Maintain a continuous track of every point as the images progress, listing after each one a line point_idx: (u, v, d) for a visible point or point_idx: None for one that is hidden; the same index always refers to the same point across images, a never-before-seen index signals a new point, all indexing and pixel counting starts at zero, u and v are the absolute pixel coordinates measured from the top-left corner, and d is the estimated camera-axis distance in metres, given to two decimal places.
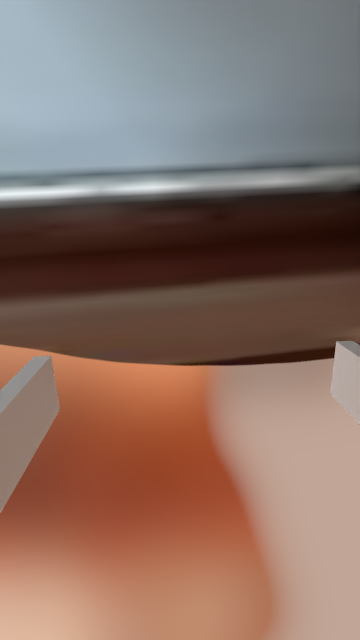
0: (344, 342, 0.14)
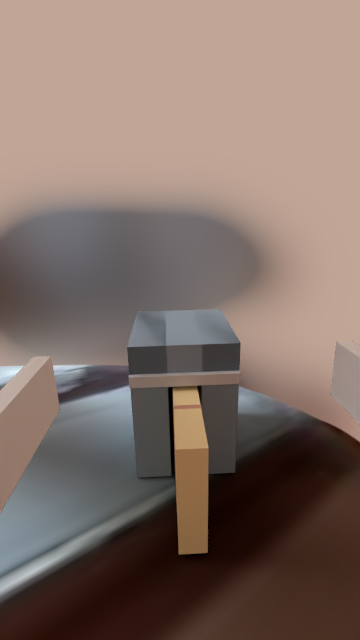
0: (344, 342, 0.14)
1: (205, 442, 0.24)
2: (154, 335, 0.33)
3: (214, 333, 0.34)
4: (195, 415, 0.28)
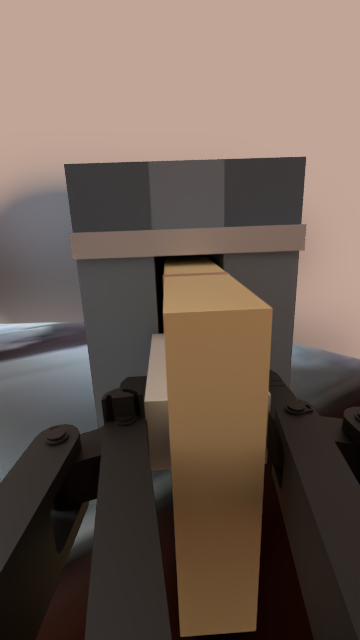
0: None
1: (258, 302, 0.08)
2: None
3: None
4: (217, 279, 0.11)
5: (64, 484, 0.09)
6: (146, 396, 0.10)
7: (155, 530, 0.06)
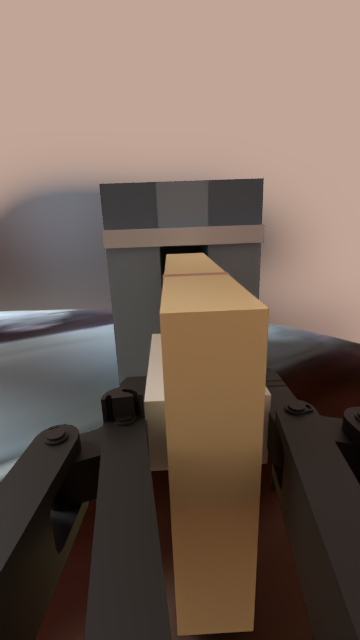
0: None
1: (255, 302, 0.08)
2: None
3: None
4: (216, 279, 0.11)
5: (64, 484, 0.09)
6: (146, 396, 0.10)
7: (155, 530, 0.06)
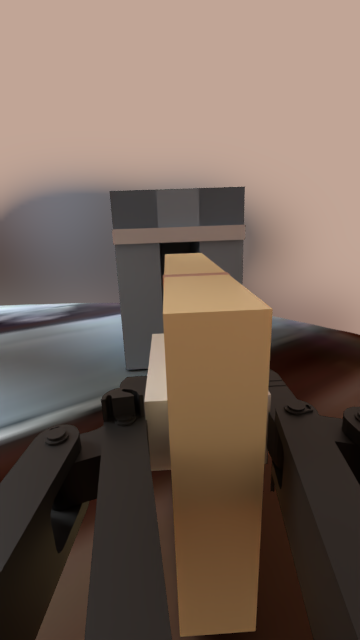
0: None
1: (257, 303, 0.08)
2: None
3: None
4: (217, 279, 0.11)
5: (64, 484, 0.09)
6: (146, 396, 0.10)
7: (155, 530, 0.06)
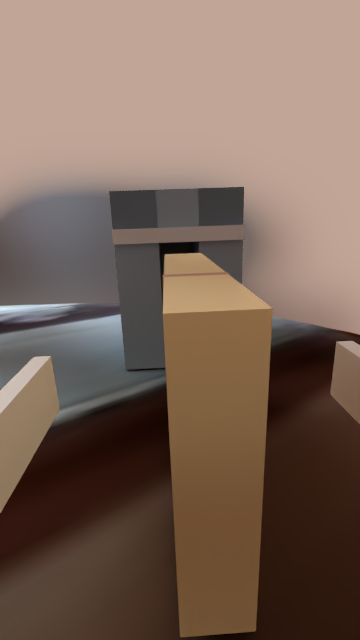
0: (344, 342, 0.14)
1: (258, 302, 0.08)
2: None
3: None
4: (217, 279, 0.11)
5: None
6: None
7: None
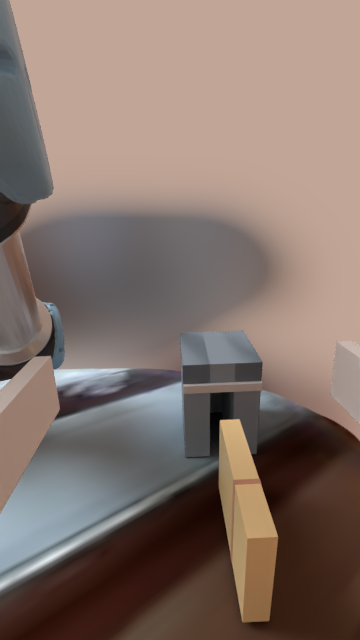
0: (344, 342, 0.14)
1: (273, 529, 0.26)
2: (198, 355, 0.46)
3: (242, 353, 0.46)
4: (257, 493, 0.29)
5: None
6: None
7: None
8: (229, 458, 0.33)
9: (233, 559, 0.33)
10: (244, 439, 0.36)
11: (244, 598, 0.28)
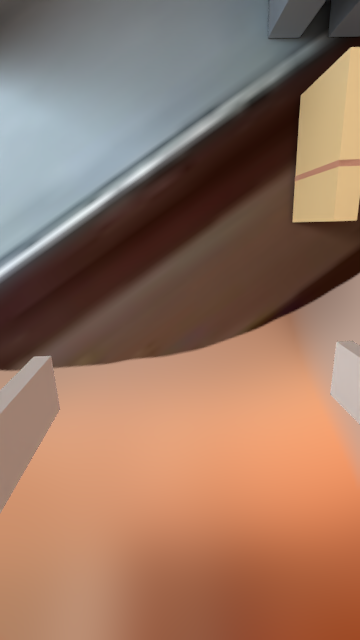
0: (344, 342, 0.14)
1: (356, 214, 0.33)
2: None
3: None
4: (356, 177, 0.32)
5: None
6: None
7: None
8: (343, 127, 0.30)
9: (299, 185, 0.40)
10: None
11: (303, 221, 0.40)
